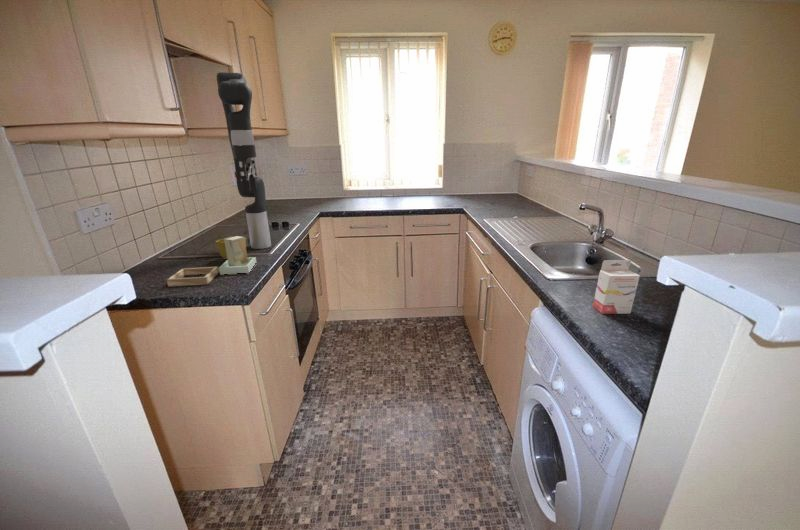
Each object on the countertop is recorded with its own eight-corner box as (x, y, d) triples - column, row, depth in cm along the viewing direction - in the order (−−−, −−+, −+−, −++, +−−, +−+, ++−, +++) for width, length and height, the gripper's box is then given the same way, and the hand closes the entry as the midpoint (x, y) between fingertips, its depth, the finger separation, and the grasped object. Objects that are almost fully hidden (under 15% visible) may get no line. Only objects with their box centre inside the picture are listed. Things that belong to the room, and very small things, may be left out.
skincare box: (236, 270, 133) (230, 240, 129) (228, 269, 135) (223, 239, 131) (249, 265, 139) (244, 236, 135) (242, 264, 140) (237, 235, 136)
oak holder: (183, 274, 131) (182, 268, 130) (219, 272, 133) (218, 266, 132) (168, 286, 120) (166, 279, 119) (207, 284, 122) (206, 277, 121)
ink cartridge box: (602, 314, 96) (612, 265, 92) (592, 306, 101) (601, 259, 96) (631, 313, 97) (643, 264, 92) (620, 306, 101) (630, 259, 96)
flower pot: (249, 257, 152) (246, 237, 149) (235, 263, 144) (232, 242, 141) (233, 255, 154) (229, 236, 151) (218, 261, 146) (214, 241, 143)
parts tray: (229, 265, 141) (228, 258, 140) (256, 263, 143) (255, 257, 142) (220, 274, 130) (218, 267, 130) (249, 273, 132) (247, 266, 131)
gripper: (238, 144, 129) (245, 187, 135) (225, 144, 116) (233, 192, 121) (259, 144, 130) (265, 187, 136) (248, 143, 117) (255, 191, 122)
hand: (250, 189), depth 128 cm, fingers open, 8 cm apart
